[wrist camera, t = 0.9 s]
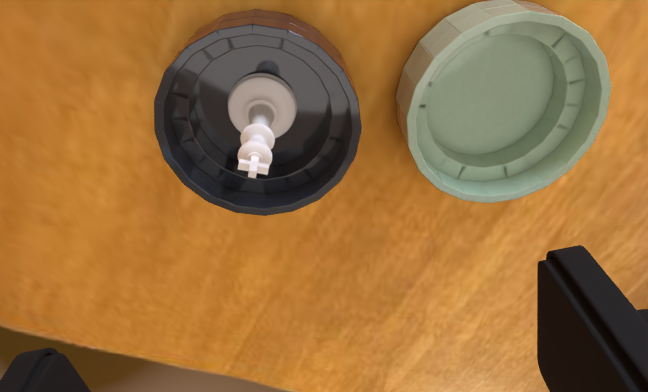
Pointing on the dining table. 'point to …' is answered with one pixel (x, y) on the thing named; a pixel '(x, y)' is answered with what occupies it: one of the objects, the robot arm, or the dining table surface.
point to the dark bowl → (224, 139)
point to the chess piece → (260, 118)
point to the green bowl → (502, 100)
